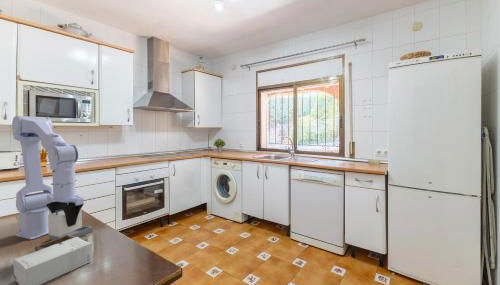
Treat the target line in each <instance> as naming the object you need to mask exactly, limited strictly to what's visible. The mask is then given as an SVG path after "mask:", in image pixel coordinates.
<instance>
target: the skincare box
mask: <svg viewBox="0 0 500 285" xmlns="http://www.w3.org/2000/svg"><path fill="white" fill-rule="evenodd" d="M80 238H81V237H80ZM80 238H79V237H75V238H72V239H69V240H66V241H63V242H61V243H58V244H55V245H52V246H49V247H47V248H44V249H41V250H38V251H36V252H35V251H33V252H30V253H27V254H25V255H23V256H22V255H21V256H18V257H16V258H14V259H13V261H12V263H13V264H12V265H13V275H14V276H13V278H14V281H16V282H17V283H18V285H43V284H45V283H47V282H50V281H52V280H54V279H56V278H58V277H61V276H62V275H66V274H67V273H69V272H72V271H74V270H76V269H78V268H80V267H82V266H85V265H87V264H89V263H91V262H92V247H93V246H92V242H89V241H88V242H87V241H84V240H82V239H80Z"/></svg>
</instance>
